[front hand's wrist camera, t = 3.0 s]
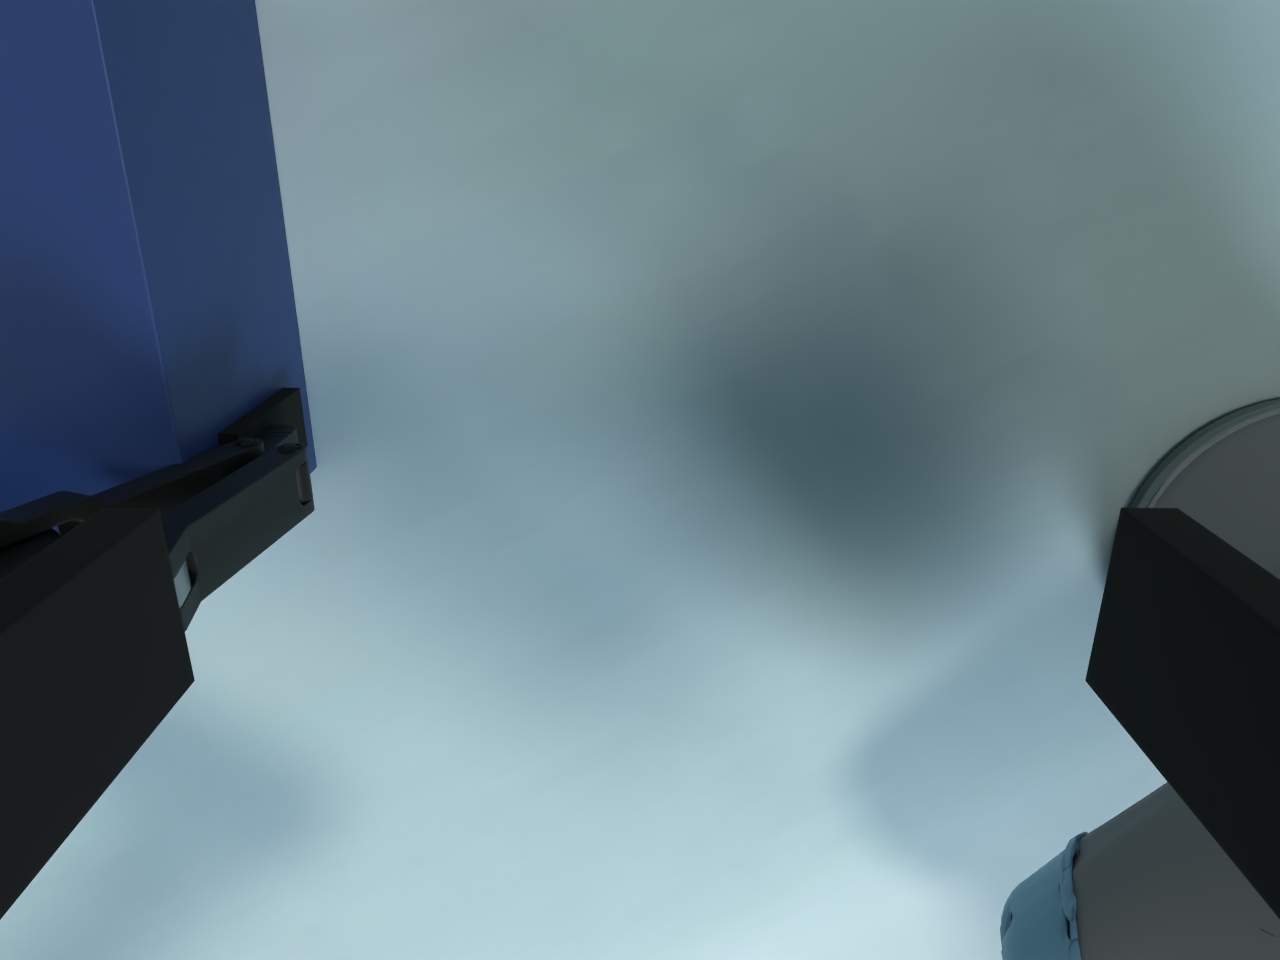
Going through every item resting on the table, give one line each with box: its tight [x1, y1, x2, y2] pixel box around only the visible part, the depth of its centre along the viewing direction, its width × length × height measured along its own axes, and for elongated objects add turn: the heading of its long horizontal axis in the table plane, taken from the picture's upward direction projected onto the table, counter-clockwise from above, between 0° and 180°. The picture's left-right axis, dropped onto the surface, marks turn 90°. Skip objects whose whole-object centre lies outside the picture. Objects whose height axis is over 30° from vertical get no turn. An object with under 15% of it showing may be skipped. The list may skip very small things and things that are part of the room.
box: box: [0, 0, 317, 534], centre depth 34 cm, size 21×8×12 cm, turn 0°
